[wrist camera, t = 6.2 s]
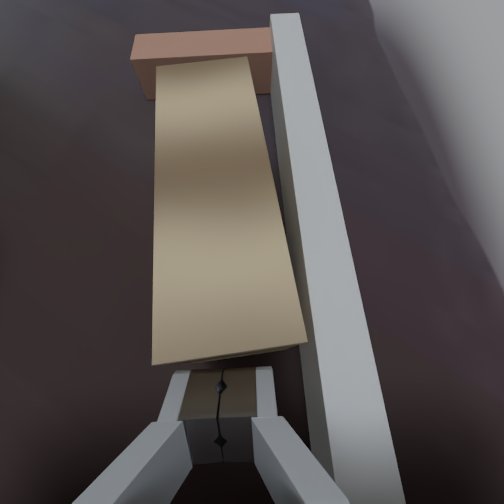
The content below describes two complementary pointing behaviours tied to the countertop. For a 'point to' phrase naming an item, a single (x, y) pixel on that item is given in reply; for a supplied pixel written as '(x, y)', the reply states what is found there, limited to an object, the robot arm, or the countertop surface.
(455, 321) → the countertop surface
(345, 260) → the board
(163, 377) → the countertop surface
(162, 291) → the long beige block
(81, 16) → the countertop surface
